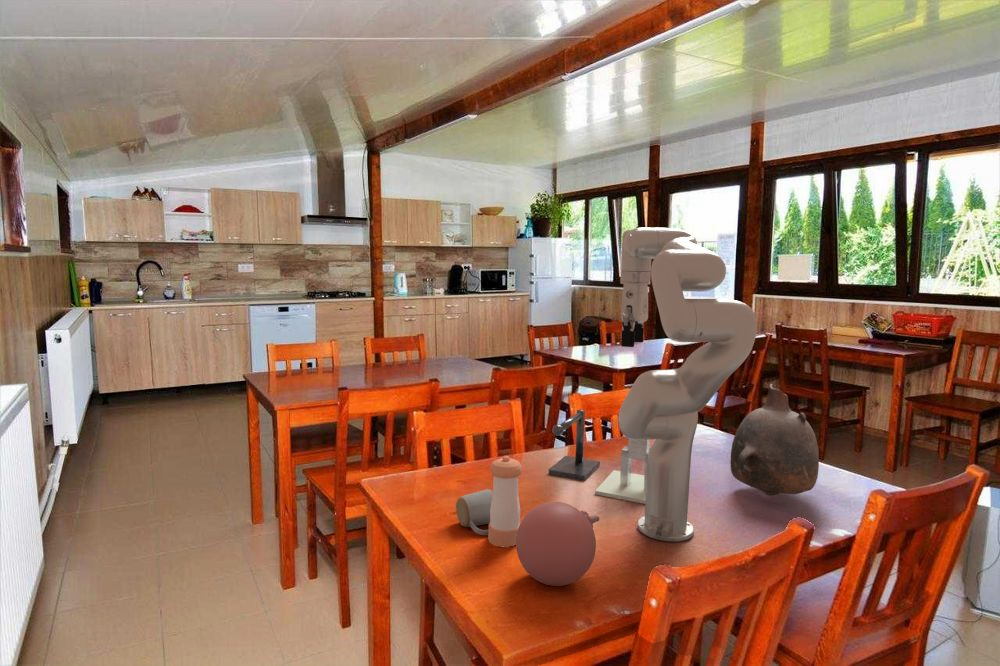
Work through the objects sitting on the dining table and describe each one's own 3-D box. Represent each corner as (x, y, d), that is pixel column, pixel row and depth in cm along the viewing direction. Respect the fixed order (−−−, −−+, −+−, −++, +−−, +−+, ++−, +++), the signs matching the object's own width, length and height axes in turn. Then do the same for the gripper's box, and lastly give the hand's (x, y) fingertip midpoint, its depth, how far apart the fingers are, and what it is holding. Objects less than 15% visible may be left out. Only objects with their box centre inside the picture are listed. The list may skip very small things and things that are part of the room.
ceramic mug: (453, 520, 146) (454, 490, 145) (484, 514, 150) (485, 484, 149) (472, 540, 137) (473, 507, 136) (505, 532, 141) (506, 500, 139)
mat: (663, 507, 156) (663, 503, 156) (595, 494, 164) (595, 490, 163) (676, 484, 172) (676, 480, 172) (613, 473, 180) (613, 470, 180)
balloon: (627, 578, 121) (630, 503, 119) (551, 612, 109) (554, 529, 107) (573, 548, 133) (575, 479, 131) (499, 575, 121) (500, 501, 119)
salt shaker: (499, 529, 142) (500, 449, 139) (526, 537, 138) (528, 455, 135) (482, 542, 135) (483, 458, 133) (510, 550, 132) (512, 464, 129)
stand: (573, 492, 165) (575, 428, 162) (535, 485, 169) (537, 423, 167) (599, 466, 186) (601, 409, 183) (565, 460, 190) (567, 405, 188)
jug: (810, 521, 149) (820, 400, 145) (718, 501, 160) (726, 388, 157) (820, 490, 169) (829, 383, 166) (738, 474, 181) (745, 373, 177)
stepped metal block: (651, 491, 164) (653, 440, 162) (619, 485, 168) (622, 435, 166) (654, 486, 167) (657, 436, 166) (623, 480, 171) (625, 431, 169)
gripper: (642, 279, 148) (638, 349, 151) (657, 277, 164) (654, 341, 166) (611, 278, 152) (608, 347, 154) (629, 277, 167) (626, 339, 169)
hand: (632, 344), depth 160 cm, fingers open, 9 cm apart
